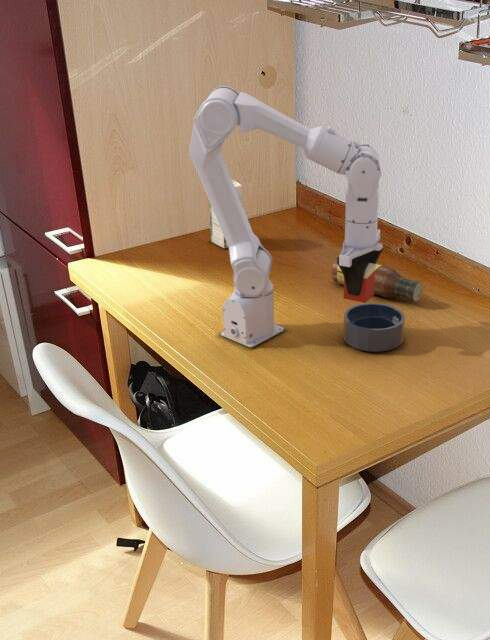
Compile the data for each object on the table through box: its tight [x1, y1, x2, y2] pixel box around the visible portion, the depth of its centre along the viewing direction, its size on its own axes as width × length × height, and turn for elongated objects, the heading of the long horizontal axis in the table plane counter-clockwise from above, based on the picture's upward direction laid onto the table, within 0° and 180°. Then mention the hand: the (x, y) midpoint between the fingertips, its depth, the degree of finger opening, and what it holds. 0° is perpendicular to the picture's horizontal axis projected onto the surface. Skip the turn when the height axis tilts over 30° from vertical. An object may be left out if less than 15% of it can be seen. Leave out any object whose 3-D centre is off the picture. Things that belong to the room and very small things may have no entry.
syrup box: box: [208, 179, 244, 250], centre depth 192 cm, size 6×6×14 cm
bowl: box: [342, 302, 406, 353], centre depth 154 cm, size 11×11×5 cm
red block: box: [343, 263, 377, 304], centre depth 152 cm, size 4×4×6 cm
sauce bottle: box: [330, 258, 424, 302], centre depth 172 cm, size 7×6×20 cm
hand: (358, 289), depth 152 cm, fingers closed on red block, 4 cm apart
